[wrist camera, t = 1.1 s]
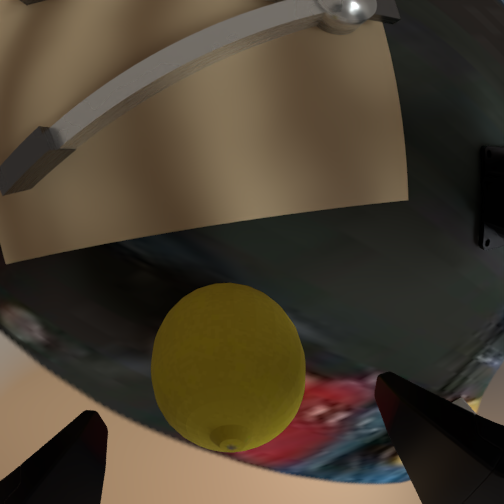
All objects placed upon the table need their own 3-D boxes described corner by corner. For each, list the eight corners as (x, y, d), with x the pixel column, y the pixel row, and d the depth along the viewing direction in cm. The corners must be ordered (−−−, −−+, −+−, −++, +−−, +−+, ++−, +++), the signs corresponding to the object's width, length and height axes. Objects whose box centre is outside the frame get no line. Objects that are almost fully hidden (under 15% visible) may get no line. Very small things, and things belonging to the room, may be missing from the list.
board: (339, -61, 8) (346, -71, 7) (395, 196, 13) (408, 200, 12) (8, 6, 7) (-2, 1, 6) (17, 257, 12) (6, 264, 11)
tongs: (351, -59, 8) (366, -80, 6) (403, 131, 11) (433, 129, 9) (29, -8, 7) (10, -22, 5) (25, 191, 10) (-3, 198, 8)
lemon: (151, 276, 13) (89, 395, 6) (266, 241, 13) (320, 344, 6) (193, 366, 15) (182, 495, 7) (292, 340, 15) (340, 464, 7)
